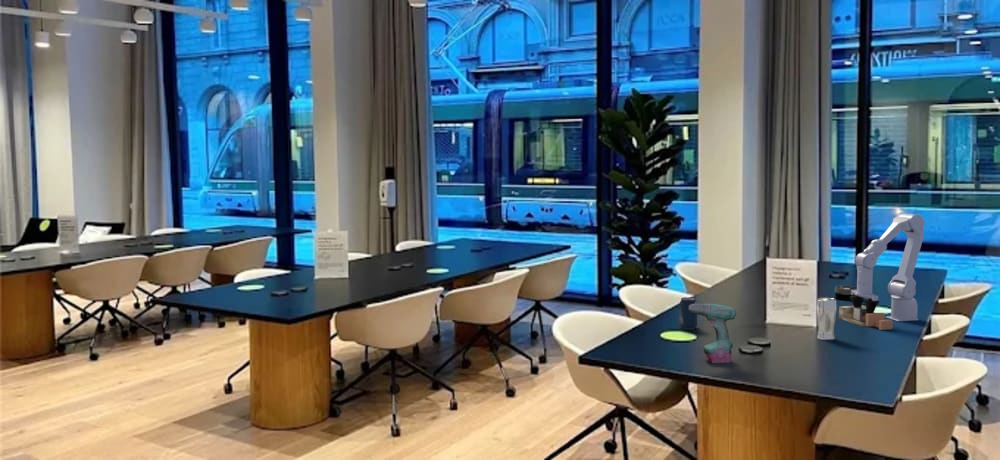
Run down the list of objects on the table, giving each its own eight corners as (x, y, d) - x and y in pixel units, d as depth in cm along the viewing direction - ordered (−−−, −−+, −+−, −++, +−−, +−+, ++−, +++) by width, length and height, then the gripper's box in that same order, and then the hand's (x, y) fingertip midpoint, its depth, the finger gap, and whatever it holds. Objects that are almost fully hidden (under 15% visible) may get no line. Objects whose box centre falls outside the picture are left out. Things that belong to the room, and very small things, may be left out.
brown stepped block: (882, 324, 322) (882, 312, 321) (895, 328, 314) (895, 316, 314) (865, 325, 320) (865, 313, 320) (878, 330, 313) (878, 317, 312)
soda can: (700, 327, 323) (700, 298, 322) (691, 330, 318) (691, 300, 317) (685, 325, 328) (685, 296, 327) (676, 328, 323) (676, 298, 322)
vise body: (861, 316, 337) (861, 305, 337) (885, 324, 322) (885, 312, 322) (838, 318, 335) (839, 306, 335) (862, 326, 320) (862, 314, 320)
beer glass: (835, 336, 304) (836, 298, 302) (836, 341, 297) (837, 301, 296) (815, 335, 306) (816, 297, 305) (816, 339, 300) (817, 300, 298)
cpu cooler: (858, 289, 369) (834, 288, 373) (857, 301, 370) (834, 300, 374) (857, 285, 379) (834, 284, 383) (857, 297, 380) (834, 296, 383)
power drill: (685, 358, 277) (685, 302, 275) (731, 356, 278) (731, 300, 276) (692, 364, 269) (692, 306, 267) (739, 362, 271) (739, 304, 269)
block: (866, 320, 330) (866, 306, 329) (872, 322, 326) (873, 308, 325) (853, 321, 329) (853, 307, 328) (859, 323, 325) (859, 309, 324)
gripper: (845, 280, 332) (844, 312, 333) (867, 285, 318) (866, 319, 319) (860, 279, 333) (859, 311, 335) (883, 284, 319) (882, 318, 321)
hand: (863, 315), depth 327 cm, fingers open, 7 cm apart
